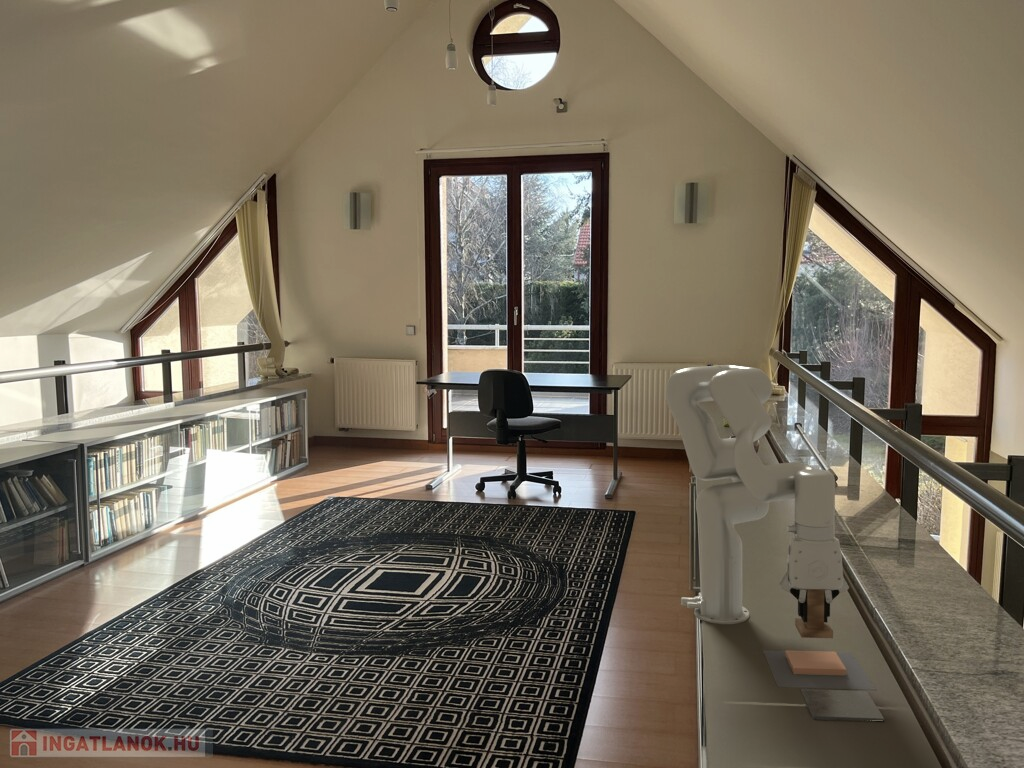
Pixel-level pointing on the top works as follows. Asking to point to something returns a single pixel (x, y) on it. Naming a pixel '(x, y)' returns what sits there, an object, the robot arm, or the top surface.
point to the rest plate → (841, 705)
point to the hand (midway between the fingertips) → (813, 618)
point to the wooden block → (814, 617)
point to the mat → (786, 678)
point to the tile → (815, 663)
